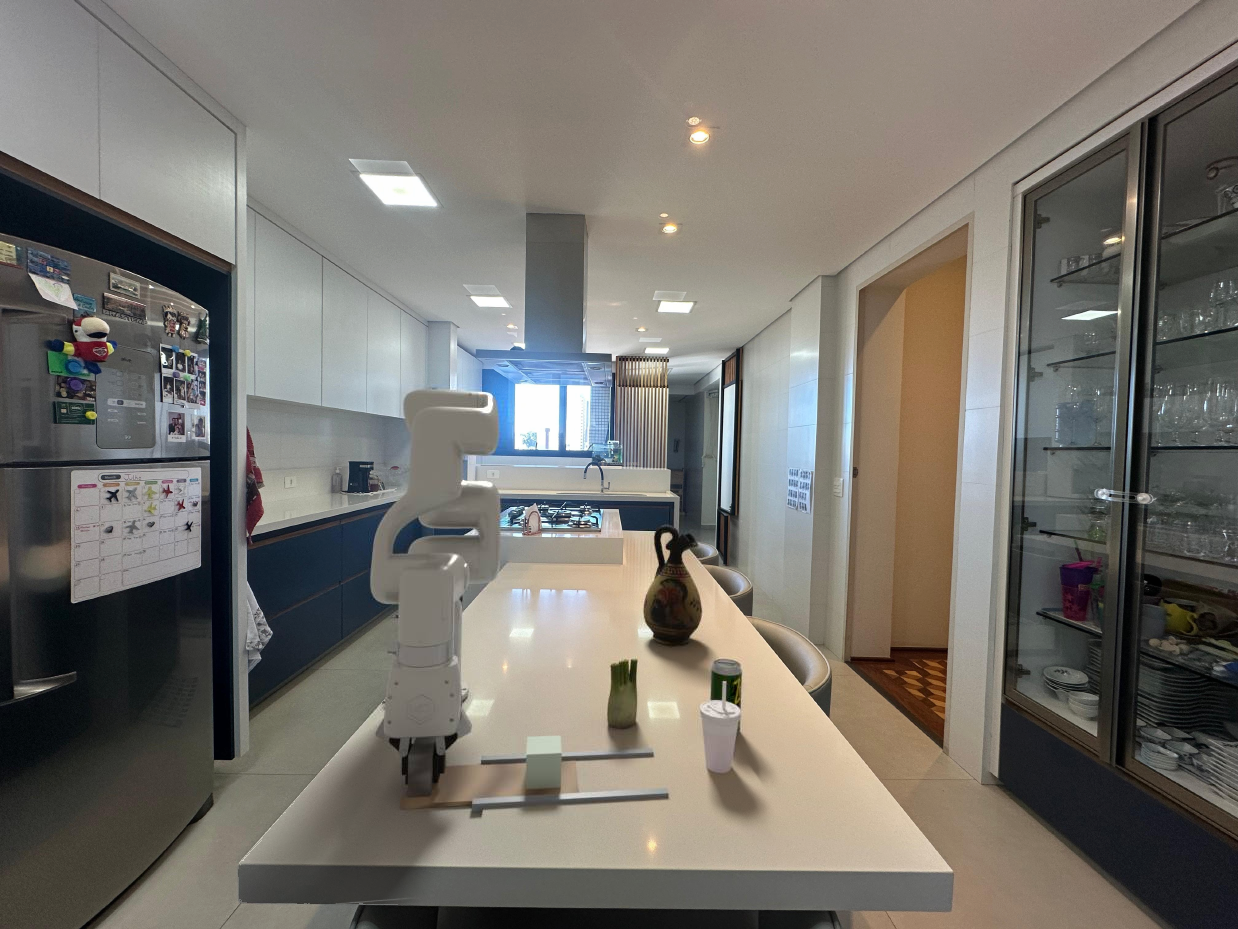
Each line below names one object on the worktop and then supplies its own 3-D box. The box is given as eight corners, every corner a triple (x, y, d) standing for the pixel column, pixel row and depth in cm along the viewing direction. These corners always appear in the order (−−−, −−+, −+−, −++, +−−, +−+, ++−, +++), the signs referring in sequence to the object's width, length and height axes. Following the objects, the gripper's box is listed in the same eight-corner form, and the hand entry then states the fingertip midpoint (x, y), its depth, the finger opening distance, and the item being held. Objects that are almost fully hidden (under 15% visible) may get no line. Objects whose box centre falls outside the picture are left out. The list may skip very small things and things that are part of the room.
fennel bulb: (635, 719, 103) (637, 654, 103) (640, 732, 99) (642, 664, 98) (604, 721, 102) (605, 655, 102) (608, 734, 98) (610, 666, 97)
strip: (400, 809, 76) (401, 760, 76) (416, 771, 85) (416, 728, 85) (579, 799, 79) (580, 752, 79) (575, 763, 88) (576, 722, 88)
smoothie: (730, 787, 83) (733, 693, 83) (690, 773, 86) (693, 683, 86) (745, 767, 88) (748, 679, 88) (707, 754, 92) (709, 669, 92)
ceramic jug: (710, 637, 151) (714, 526, 150) (685, 654, 138) (689, 532, 137) (654, 625, 160) (657, 520, 159) (626, 640, 147) (629, 525, 146)
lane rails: (471, 812, 76) (472, 804, 76) (481, 763, 88) (481, 756, 88) (668, 801, 79) (668, 793, 79) (652, 755, 91) (652, 748, 91)
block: (525, 789, 80) (526, 754, 80) (526, 769, 85) (527, 736, 85) (560, 787, 81) (561, 753, 81) (559, 768, 86) (560, 735, 86)
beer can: (707, 735, 98) (709, 667, 98) (711, 721, 103) (713, 656, 103) (738, 740, 97) (740, 671, 96) (741, 726, 102) (743, 660, 102)
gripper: (356, 662, 75) (354, 797, 76) (482, 659, 78) (479, 791, 78) (373, 643, 83) (371, 766, 83) (487, 641, 85) (484, 761, 85)
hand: (423, 777), depth 81 cm, fingers closed on strip, 3 cm apart
